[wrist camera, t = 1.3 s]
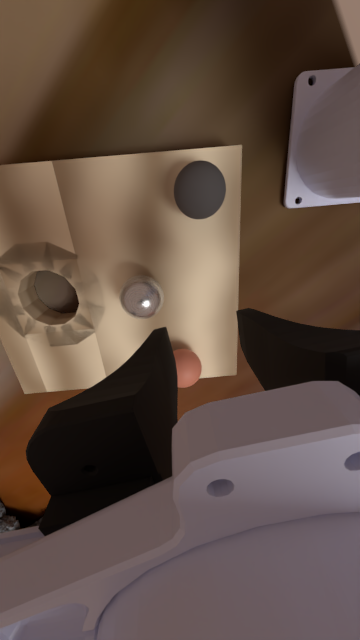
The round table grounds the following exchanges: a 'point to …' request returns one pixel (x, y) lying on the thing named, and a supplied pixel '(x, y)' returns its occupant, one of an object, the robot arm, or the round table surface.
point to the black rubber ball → (199, 189)
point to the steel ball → (141, 297)
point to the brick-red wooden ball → (187, 367)
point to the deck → (115, 264)
